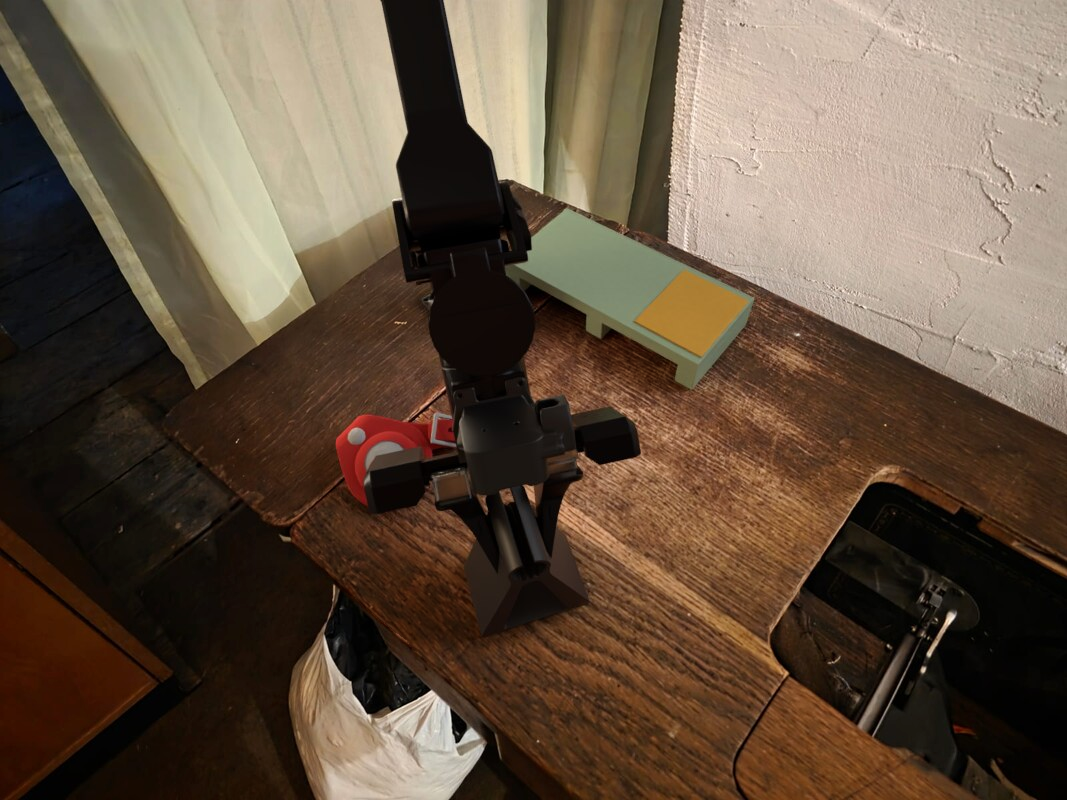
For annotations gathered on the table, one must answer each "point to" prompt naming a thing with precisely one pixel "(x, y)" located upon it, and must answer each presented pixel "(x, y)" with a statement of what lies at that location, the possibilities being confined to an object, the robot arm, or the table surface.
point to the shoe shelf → (635, 292)
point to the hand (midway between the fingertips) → (523, 569)
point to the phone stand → (521, 570)
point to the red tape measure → (386, 444)
